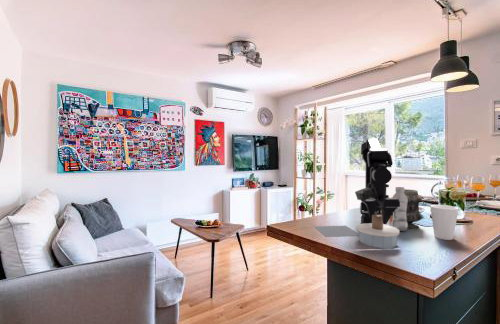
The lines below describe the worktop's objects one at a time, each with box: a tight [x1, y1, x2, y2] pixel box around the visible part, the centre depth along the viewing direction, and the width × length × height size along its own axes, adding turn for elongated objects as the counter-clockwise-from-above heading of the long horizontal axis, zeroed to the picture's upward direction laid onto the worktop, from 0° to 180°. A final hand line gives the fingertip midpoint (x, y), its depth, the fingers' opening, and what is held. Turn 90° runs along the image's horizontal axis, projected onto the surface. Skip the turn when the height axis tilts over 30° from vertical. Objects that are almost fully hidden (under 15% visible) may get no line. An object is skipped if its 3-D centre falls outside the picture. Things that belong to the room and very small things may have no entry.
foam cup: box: [429, 204, 459, 241], centre depth 108 cm, size 10×9×13 cm
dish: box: [359, 231, 398, 250], centre depth 101 cm, size 13×13×5 cm
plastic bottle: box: [391, 186, 408, 232], centre depth 118 cm, size 6×7×20 cm
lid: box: [356, 214, 400, 237], centre depth 101 cm, size 15×15×6 cm
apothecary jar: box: [404, 188, 423, 230], centre depth 125 cm, size 12×12×18 cm
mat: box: [313, 225, 360, 238], centre depth 116 cm, size 16×16×1 cm
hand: (377, 221), depth 101 cm, fingers open, 9 cm apart
